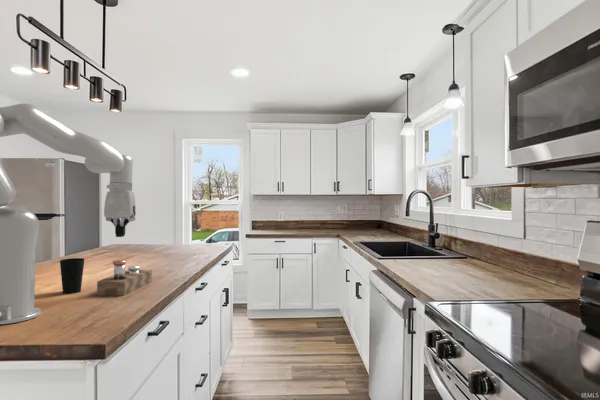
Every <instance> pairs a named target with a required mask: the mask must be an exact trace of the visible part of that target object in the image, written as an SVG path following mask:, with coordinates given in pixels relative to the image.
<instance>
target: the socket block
mask: <svg viewBox="0 0 600 400" xmlns="http://www.w3.org/2000/svg"><path fill="white" fill-rule="evenodd" d="M152 282H153V269H139V273H137V274H131V273H129V270H128V269H127V270H125V279H122V280H114V274H113V275H111V276H108V277H105V278H102V279H99V280H97V283H96V284H97V285H96V286H97V287H96V288H97V289H96V296H121V297H122V296H126V295H129V294H131V293H133V292H135V291H137V290H139V289H141V288H143V287H145V286H146V285H148V284H150V283H152ZM144 285H145V286H144Z"/></svg>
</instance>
